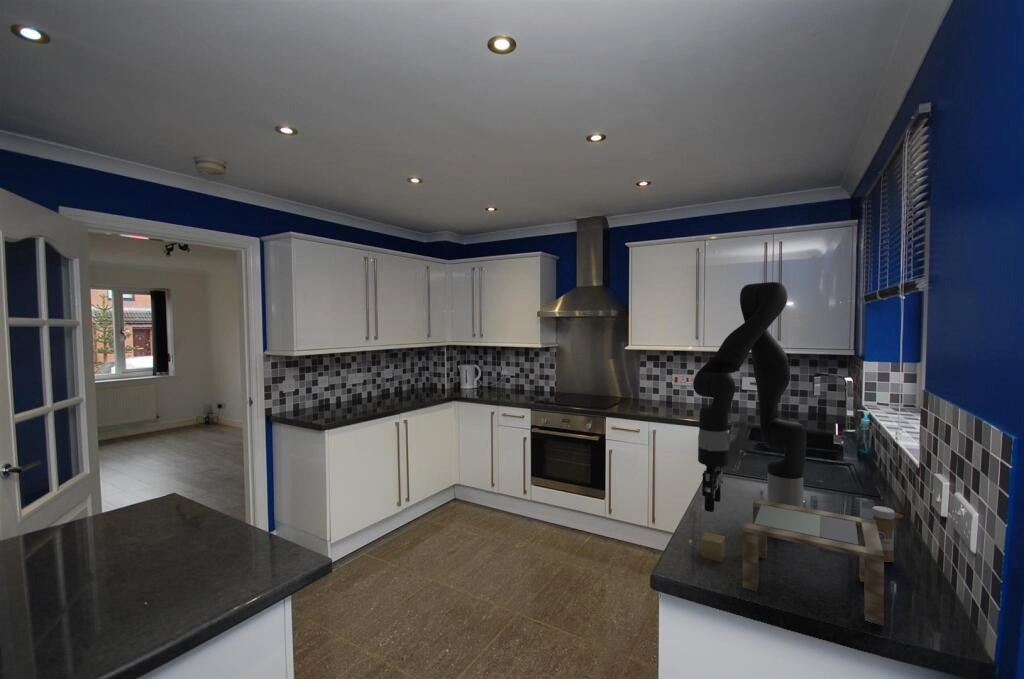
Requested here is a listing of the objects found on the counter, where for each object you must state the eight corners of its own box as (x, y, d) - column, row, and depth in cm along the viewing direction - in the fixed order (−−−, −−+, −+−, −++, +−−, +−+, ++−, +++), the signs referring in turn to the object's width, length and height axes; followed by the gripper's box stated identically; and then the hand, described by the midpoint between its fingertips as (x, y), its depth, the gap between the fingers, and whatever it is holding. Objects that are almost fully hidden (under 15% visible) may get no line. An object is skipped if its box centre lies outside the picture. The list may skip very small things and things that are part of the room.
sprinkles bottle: (871, 560, 121) (871, 509, 121) (872, 553, 125) (872, 504, 124) (894, 565, 118) (894, 513, 118) (894, 558, 122) (894, 508, 121)
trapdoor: (855, 536, 111) (855, 521, 111) (858, 560, 99) (858, 544, 99) (761, 517, 122) (761, 504, 122) (754, 537, 111) (754, 523, 110)
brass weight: (705, 549, 128) (705, 531, 128) (724, 554, 125) (724, 536, 125) (701, 557, 124) (701, 538, 124) (721, 562, 121) (721, 543, 121)
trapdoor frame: (874, 579, 112) (875, 520, 111) (883, 626, 94) (884, 556, 94) (754, 551, 126) (754, 498, 126) (742, 587, 109) (742, 526, 109)
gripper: (704, 439, 132) (703, 495, 132) (692, 449, 120) (691, 511, 120) (733, 442, 128) (732, 501, 128) (723, 453, 116) (722, 518, 116)
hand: (712, 506), depth 124 cm, fingers open, 8 cm apart
